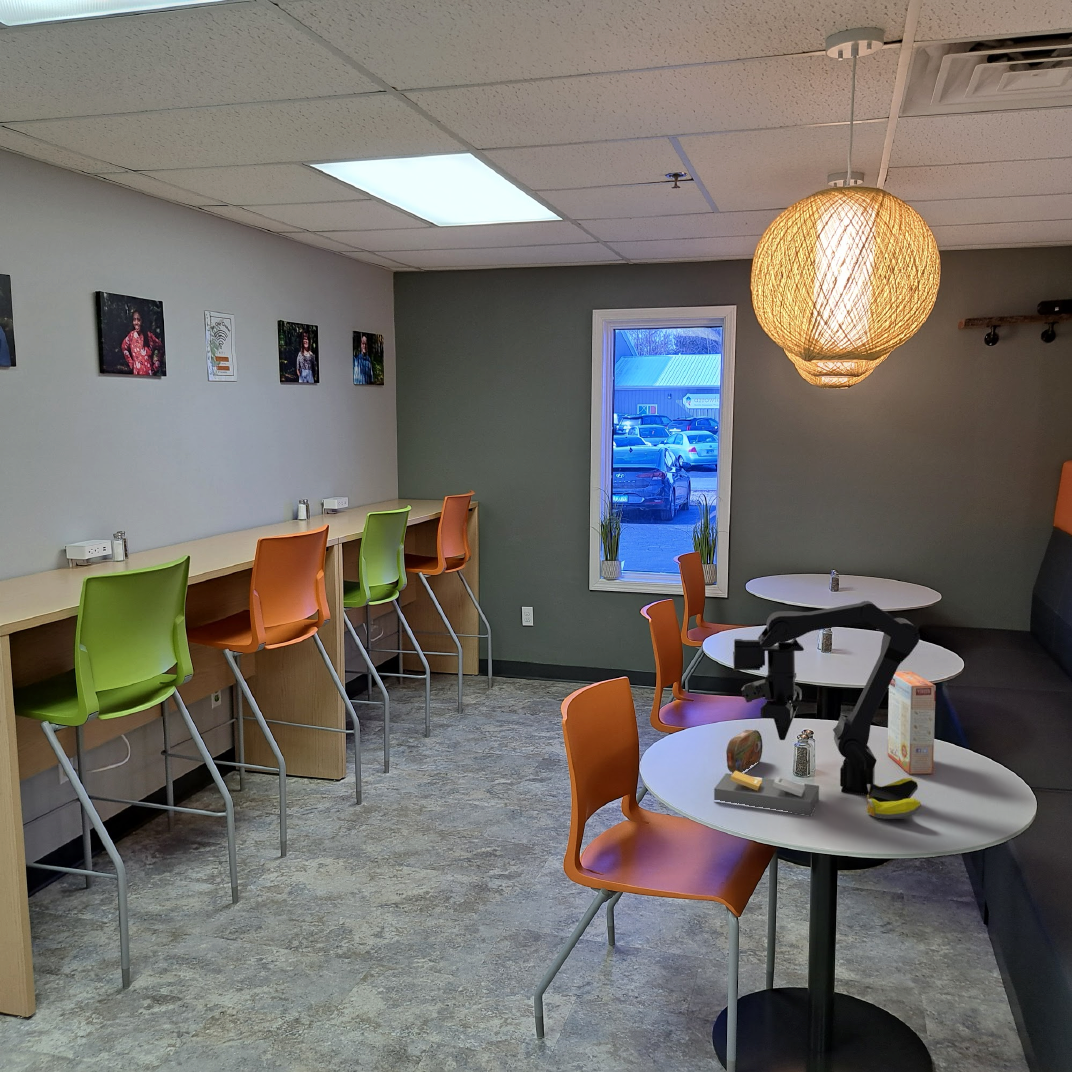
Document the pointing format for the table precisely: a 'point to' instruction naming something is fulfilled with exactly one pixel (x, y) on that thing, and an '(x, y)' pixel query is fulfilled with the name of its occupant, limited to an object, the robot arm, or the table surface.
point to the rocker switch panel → (767, 796)
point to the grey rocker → (789, 786)
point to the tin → (744, 750)
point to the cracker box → (911, 722)
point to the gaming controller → (893, 799)
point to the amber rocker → (746, 780)
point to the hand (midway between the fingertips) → (782, 739)
